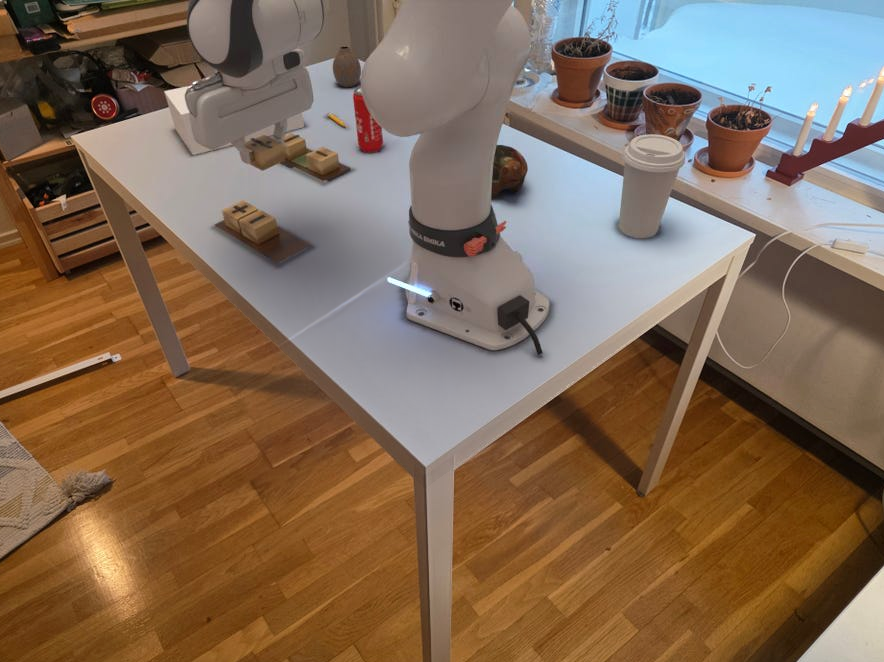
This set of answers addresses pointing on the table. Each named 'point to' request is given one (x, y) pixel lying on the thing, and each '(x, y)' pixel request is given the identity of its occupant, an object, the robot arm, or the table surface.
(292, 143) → the strip
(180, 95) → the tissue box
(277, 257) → the strip
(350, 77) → the vase
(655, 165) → the coffee cup
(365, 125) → the beverage can
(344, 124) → the pencil
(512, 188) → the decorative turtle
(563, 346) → the table surface
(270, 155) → the wooden block
